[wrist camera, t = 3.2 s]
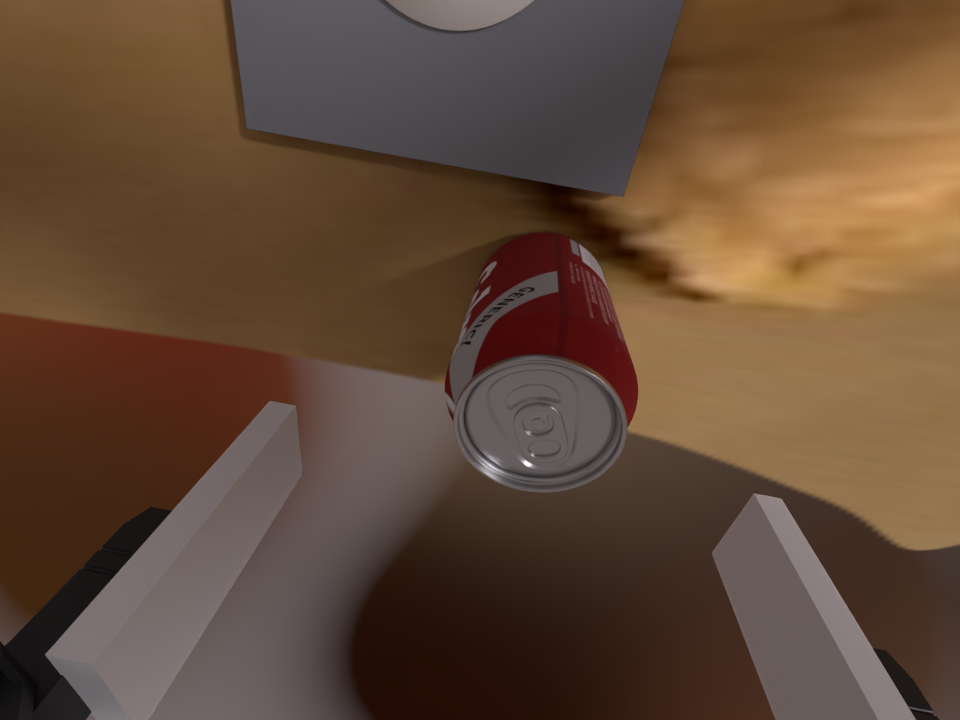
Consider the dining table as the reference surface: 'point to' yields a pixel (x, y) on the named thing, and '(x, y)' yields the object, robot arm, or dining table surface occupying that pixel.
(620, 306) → the dining table surface
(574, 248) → the soda can
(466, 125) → the board
